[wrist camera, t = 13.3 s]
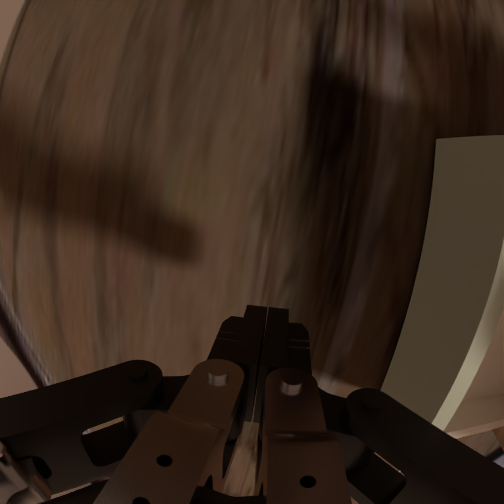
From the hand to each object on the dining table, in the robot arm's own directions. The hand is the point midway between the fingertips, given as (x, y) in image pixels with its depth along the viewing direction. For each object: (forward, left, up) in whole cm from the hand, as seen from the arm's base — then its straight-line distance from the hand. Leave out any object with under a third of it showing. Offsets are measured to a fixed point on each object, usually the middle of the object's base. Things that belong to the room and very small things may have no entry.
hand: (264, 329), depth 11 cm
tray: (-1, +14, -4) cm, 15 cm away
